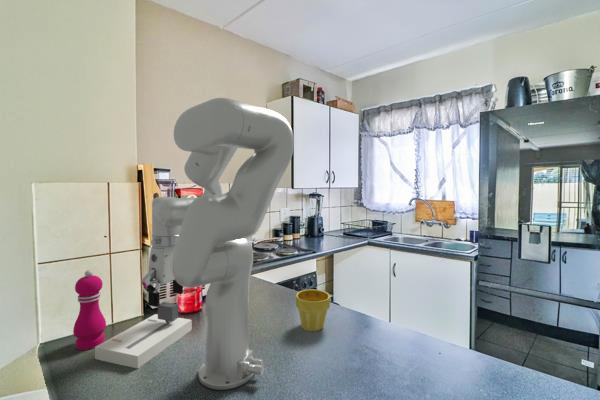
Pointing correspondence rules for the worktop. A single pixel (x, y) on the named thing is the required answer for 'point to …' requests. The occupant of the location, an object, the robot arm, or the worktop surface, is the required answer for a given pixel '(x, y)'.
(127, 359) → the slotted white slab
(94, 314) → the pepper mill
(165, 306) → the fader cap
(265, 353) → the worktop surface
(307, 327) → the plant pot
